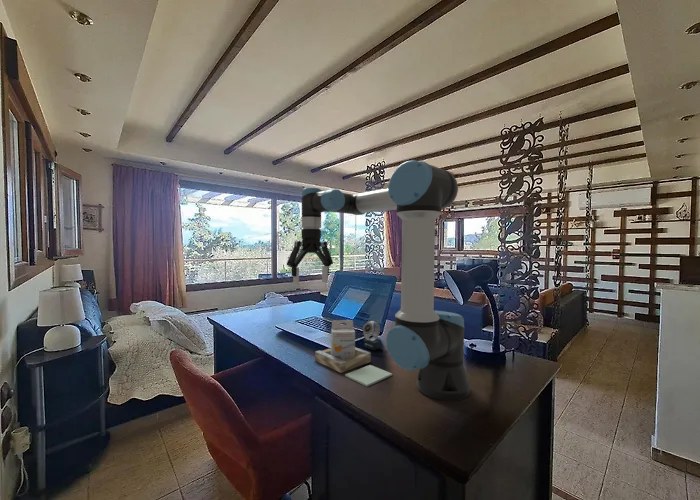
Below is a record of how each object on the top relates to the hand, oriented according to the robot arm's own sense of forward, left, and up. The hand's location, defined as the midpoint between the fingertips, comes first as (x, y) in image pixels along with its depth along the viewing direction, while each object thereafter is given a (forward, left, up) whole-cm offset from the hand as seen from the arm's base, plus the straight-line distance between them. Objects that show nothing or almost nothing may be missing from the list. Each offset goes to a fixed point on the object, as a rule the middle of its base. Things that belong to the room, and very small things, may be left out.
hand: (311, 283), depth 117 cm
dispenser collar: (-13, -5, -28) cm, 31 cm away
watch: (-10, -24, -28) cm, 38 cm away
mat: (-28, -3, -28) cm, 40 cm away
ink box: (-13, -5, -28) cm, 31 cm away
